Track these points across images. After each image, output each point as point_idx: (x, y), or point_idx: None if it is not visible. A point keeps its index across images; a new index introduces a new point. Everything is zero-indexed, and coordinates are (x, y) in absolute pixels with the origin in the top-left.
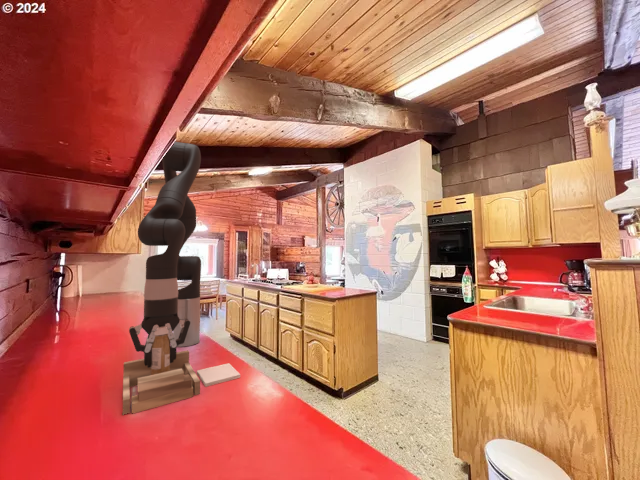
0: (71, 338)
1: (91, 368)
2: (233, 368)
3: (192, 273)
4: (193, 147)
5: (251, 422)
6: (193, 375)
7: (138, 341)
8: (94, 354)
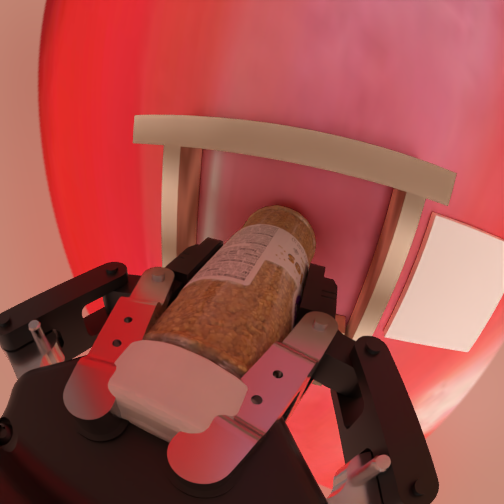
0: None
1: None
2: (496, 303)
3: None
4: None
5: (337, 447)
6: (361, 336)
7: (93, 342)
8: None
